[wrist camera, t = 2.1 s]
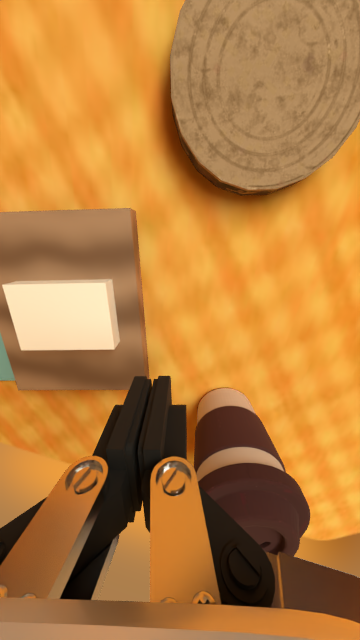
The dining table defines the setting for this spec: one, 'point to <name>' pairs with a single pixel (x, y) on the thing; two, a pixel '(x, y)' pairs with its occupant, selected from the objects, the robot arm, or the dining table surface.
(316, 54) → the wood slice coaster
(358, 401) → the dining table surface
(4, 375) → the mat
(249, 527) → the coffee cup
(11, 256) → the panel
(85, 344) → the cream foam board
